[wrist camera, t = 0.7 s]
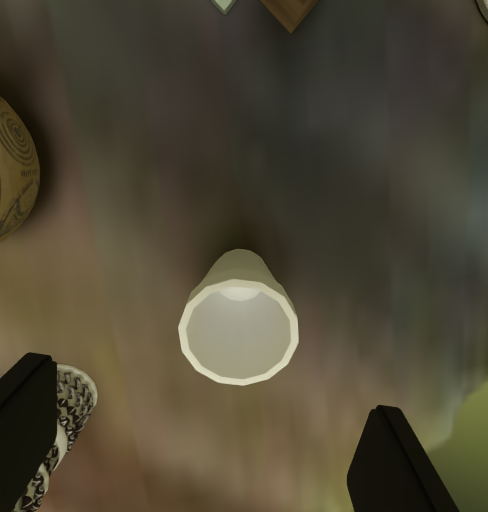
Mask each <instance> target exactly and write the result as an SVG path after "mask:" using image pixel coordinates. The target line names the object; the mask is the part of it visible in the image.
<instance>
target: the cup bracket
mask: <svg viewBox="0 0 488 512" xmlns="http://www.w3.org/2000/svg"><path fill="white" fill-rule="evenodd" d="M210 1H211V2H212V3H213V4H214V5H215V6H216V7H217V8H218V9H219V10H220V11H221V12H222V13H223V14H224V15H226V14H227V13H228V11H229V10H230V9H231V7H232V6H233V5H234V3H235V2H236V1H237V0H210Z"/></svg>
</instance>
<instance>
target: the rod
mask: <svg viewBox="0 0 488 512" xmlns="http://www.w3.org/2000/svg"><path fill="white" fill-rule="evenodd" d="M260 1H261V2H262V3H263V5H264V6H265V7H266V8H267V9H268V10H269V11H270V12H271V13H272V14H273V15H274V17H275V18H276V19H277V20H278V21H279V22H280V23H281V24H282V25H283V26H284V27H285V28H286V30H287V31H288V32H289V33H290V34H292V32H293V31H294V30H295V29H296V27H297V26H298V25H299V24H300V23H301V21H302V20H303V19H304V18H305V17H306V15H307V14H308V13H309V12H310V10H311V9H312V8H313V7H314V6H315V4H316V3H317V2H318V1H319V0H260Z"/></svg>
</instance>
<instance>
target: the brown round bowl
mask: <svg viewBox="0 0 488 512" xmlns="http://www.w3.org/2000/svg"><path fill="white" fill-rule="evenodd" d="M39 185H40V166H39V160H38V156H37V152H36V148H35V145H34V142H33V140H32V138H31V135H30V133H29V132H28V130H27V128H26V127H25V125H24V123H23V122H22V120H21V119H20V118H19V116H18V115H17V114H16V113H15V111H14V110H13V109H12V108H11V107H10V106H9V104H8V103H7V102H6V101H5V100H4V99H3V98H2V97H1V96H0V242H1V241H3V240H4V239H6V238H7V237H8V236H9V235H11V234H12V233H13V232H14V231H15V230H16V229H18V228H19V226H20V225H21V224H22V223H23V221H24V220H25V219H26V218H27V216H28V214H29V213H30V211H31V209H32V208H33V206H34V203H35V200H36V197H37V194H38V190H39Z"/></svg>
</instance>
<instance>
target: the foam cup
mask: <svg viewBox="0 0 488 512" xmlns="http://www.w3.org/2000/svg"><path fill="white" fill-rule="evenodd" d="M178 330H179V336H180V342H181V348H182V352H183V353H184V355H185V356H186V357H187V359H188V360H189V361H190V363H191V364H192V365H193V367H194V368H195V369H196V371H198V372H200V373H202V374H204V375H205V376H207V377H209V378H211V379H213V380H215V381H216V382H218V383H226V384H235V385H243V386H244V385H248V384H252V383H255V382H259V381H263V380H267V379H269V378H270V377H272V376H273V375H274V374H276V373H277V372H278V371H279V370H281V369H282V368H283V367H285V366H286V365H287V364H288V363H289V361H290V359H291V357H292V355H293V353H294V351H295V349H296V347H297V344H298V318H297V315H296V312H295V309H294V306H293V304H292V302H291V300H290V299H289V297H288V295H287V294H286V292H285V290H284V289H283V287H282V285H281V284H279V283H277V282H276V280H275V279H274V277H273V276H272V274H271V272H270V271H269V269H268V268H267V266H266V265H265V263H264V261H263V260H262V258H261V257H260V256H258V255H257V254H255V253H253V252H252V251H250V250H244V249H235V250H232V251H228V252H225V253H224V254H223V255H222V256H221V257H220V258H219V259H218V260H217V261H216V262H215V263H214V265H213V266H212V268H211V269H210V270H209V272H208V273H207V275H206V276H205V277H204V279H203V280H202V282H201V283H200V284H199V285H198V286H197V287H196V288H195V289H194V290H193V291H192V292H191V294H190V296H189V299H188V302H187V305H186V307H185V310H184V313H183V316H182V318H181V321H180V324H179V327H178Z"/></svg>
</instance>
